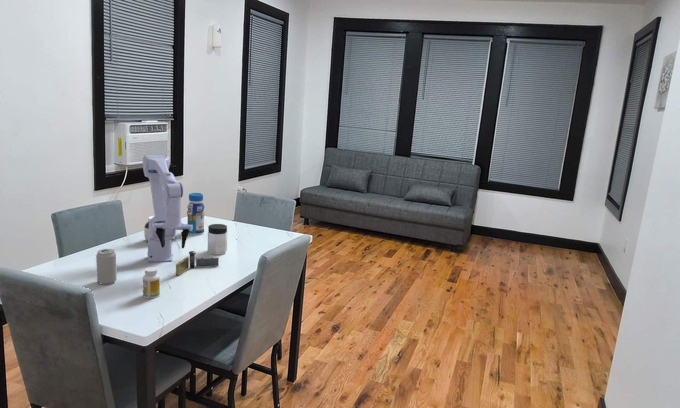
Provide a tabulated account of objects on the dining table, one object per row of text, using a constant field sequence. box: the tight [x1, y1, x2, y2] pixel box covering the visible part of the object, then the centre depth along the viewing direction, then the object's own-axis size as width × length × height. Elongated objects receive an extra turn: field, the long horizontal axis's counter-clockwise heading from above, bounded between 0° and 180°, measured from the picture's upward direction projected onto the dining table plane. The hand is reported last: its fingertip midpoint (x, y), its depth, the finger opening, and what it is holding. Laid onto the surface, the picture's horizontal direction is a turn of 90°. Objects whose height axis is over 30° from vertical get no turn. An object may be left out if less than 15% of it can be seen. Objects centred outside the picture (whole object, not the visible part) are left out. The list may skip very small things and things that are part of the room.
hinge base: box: [188, 250, 220, 269], centre depth 198 cm, size 12×3×7 cm, turn 107°
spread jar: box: [143, 215, 176, 242], centre depth 226 cm, size 12×11×12 cm
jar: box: [207, 223, 228, 256], centre depth 217 cm, size 9×8×12 cm
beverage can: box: [95, 248, 117, 285], centre depth 176 cm, size 6×6×12 cm
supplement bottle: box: [142, 266, 161, 299], centre depth 168 cm, size 5×5×10 cm
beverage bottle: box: [186, 192, 206, 236], centre depth 241 cm, size 8×8×20 cm
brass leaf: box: [175, 256, 190, 276], centre depth 191 cm, size 9×1×5 cm, turn 172°
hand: (173, 247), depth 190 cm, fingers open, 7 cm apart
